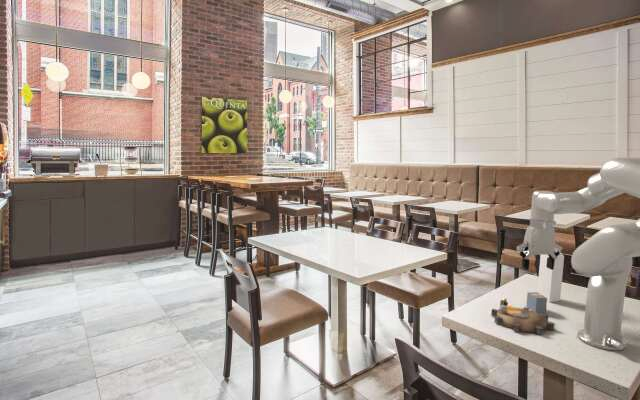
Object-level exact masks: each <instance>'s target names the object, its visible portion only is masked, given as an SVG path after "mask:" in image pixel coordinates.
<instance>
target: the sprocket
mask: <svg viewBox="0 0 640 400" xmlns="http://www.w3.org/2000/svg"><path fill="white" fill-rule="evenodd" d="M490 313H491V316H493V317H494V321H493V322H494V323H495V324H497V325H504V326H506V327H508V328H510V329H512V330H513V332H517V333H519V332H520V331H522V332H527V333H528V332H529V333H536V334H537V335H544V331H546V330H551V331H554V330H555V329H554V328H555V322H552V321H549V315H548V314H546V313H537V312H534V311H531V310H530V309H529V308H527V307H526V306H525V307H523V308H522V307H521V308H520V307H514V306H513V305H508V306H507V305H506V306H505V305H500V304H499V309H496V308H492V309H491V312H490Z"/></svg>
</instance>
